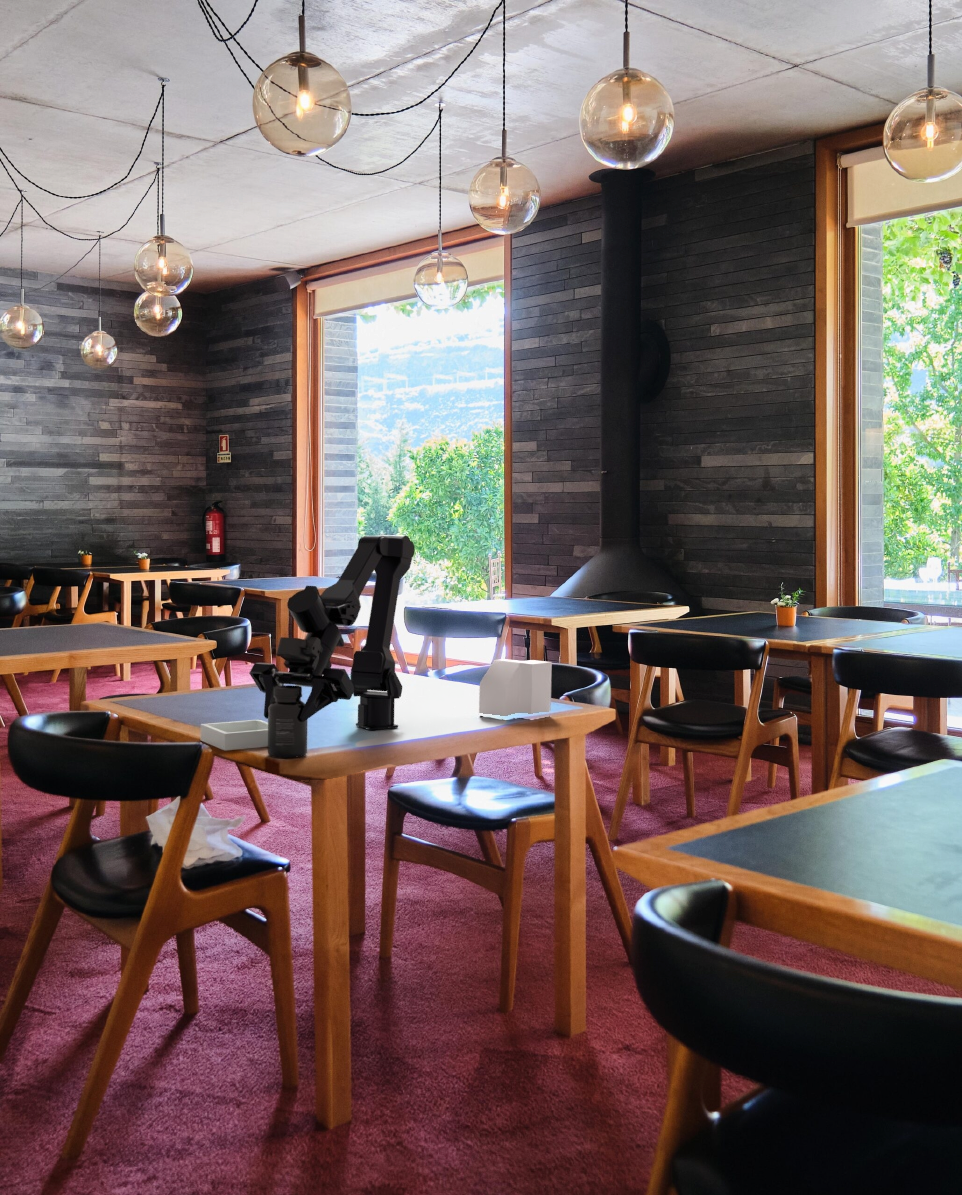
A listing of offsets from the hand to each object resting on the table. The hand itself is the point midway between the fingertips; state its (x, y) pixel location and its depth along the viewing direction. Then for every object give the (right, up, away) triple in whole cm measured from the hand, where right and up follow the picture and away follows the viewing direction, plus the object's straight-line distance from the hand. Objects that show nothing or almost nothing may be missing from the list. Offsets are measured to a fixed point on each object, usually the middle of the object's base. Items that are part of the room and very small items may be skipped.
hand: (283, 718), depth 196 cm
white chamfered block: (+41, -5, +50) cm, 65 cm away
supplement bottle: (0, -7, +2) cm, 7 cm away
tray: (-10, -6, +13) cm, 17 cm away
